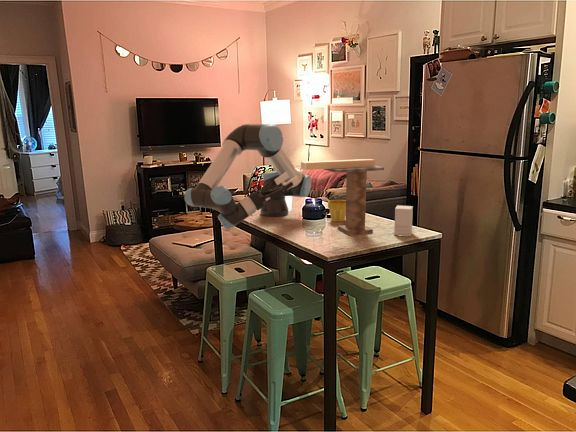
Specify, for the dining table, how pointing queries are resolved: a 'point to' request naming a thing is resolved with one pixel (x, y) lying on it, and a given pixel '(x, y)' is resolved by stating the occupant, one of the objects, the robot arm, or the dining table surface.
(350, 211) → the shelf stand
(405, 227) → the supplement box
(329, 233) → the dining table surface
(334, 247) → the dining table surface
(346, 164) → the tan rectangular bar
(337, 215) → the plant pot
